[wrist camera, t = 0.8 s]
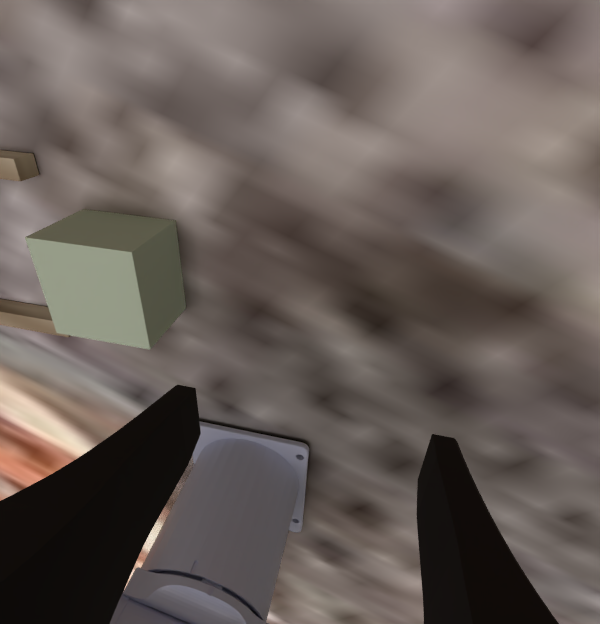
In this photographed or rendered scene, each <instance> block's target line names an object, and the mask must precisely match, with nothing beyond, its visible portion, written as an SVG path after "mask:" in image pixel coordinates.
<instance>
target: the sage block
mask: <svg viewBox="0 0 600 624" xmlns="http://www.w3.org/2000/svg"><path fill="white" fill-rule="evenodd" d="M25 239H26V242H27V245H28V248H29V251H30V254H31V257H32V260H33V263H34V266H35V269H36V272H37V275H38V278H39V281H40V284H41V287H42V290H43V293H44V296H45V299H46V302H47V305H48V308H49V311H50V314H51V317H52V320H53V323H54V326H55V329H56V332H57V333H60V334H65V335H71V336H77V337H82V338H88V339H93V340H99V341H105V342H110V343H116V344H121V345H127V346H133V347H138V348H144V349H149V350H150V349H151V348H152V347H153V346H154V345H155V343H156V342H157V341H158V340H159V339H160V338H161V337H162V335H163V334H164V333H165V332H166V331H167V330H168V328H169V327H170V326H171V325H172V324H173V323H174V322H175V320H176V319H177V318H178V317H179V316H180V315H181V313H182V312H183V311H184V310H185V309H186V302H185V294H184V286H183V278H182V269H181V261H180V253H179V245H178V237H177V229H176V221H175V220H167V219H159V218H151V217H143V216H135V215H127V214H118V213H110V212H102V211H94V210H86V209H83V210H81V211H79V212H77V213H74V214H72V215H70V216H68V217H66V218H64V219H62V220H60V221H58V222H56V223H54V224H52V225H50V226H48V227H46V228H43V229H41V230H39V231H37V232H35V233H33V234H31V235H29V236H27V237H25Z"/></svg>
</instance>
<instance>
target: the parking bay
mask: <svg viewBox="0 0 600 624" xmlns="http://www.w3.org/2000/svg"><path fill="white" fill-rule="evenodd" d="M38 175H39V172H38V169H37V165H36V162H35V158H34V155H33V154H32V153H22V152H13V151H4V150H0V179H6V180H15V181H23V180H26V179H29V178H32V177H35V176H38ZM0 325H4V326H10V327H15V328H21V329H26V330H32V331H37V332H43V333H48V334H54V335H59V336H65V337H70V336H71V335H65V334H60V333H57V332H56V329H55V326H54V323H53V320H52V317H51V314H50V311H49V308H48V307H45V306H39V305H33V304H27V303H21V302H16V301H10V300H4V299H0Z"/></svg>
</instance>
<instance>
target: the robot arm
mask: <svg viewBox="0 0 600 624" xmlns="http://www.w3.org/2000/svg"><path fill="white" fill-rule="evenodd" d="M192 455H193V462H194V466H193V468H192V470H191V472H190V474H189V476H188V478H187V480H186V482H185V484H184V486H183V488H182V490H181V491H180V493H179V495H178V497H177V499H176V501H175V503H174V505H173V507H172V509H171V511H170V513H169V515H168V517H167V519H166V520H165V522H164V524H163V526H162V528H161V530H160V532H159V534H158V536H157V538H156V540H155V542H154V544H153V546H152V548H151V550H150V551H149V553H148V555H147V557H146V559H145V561H144V563H143V565H142V567H141V568H136V570H135V571H134V573H133V575H132V577H131V579H130V581H129V583H128V585H127V587H126V589H125V590H124V588H125V586H126V583H127V581H128V579H129V576H130V574H131V572H132V570H133V567H134V565H135V563H136V561H137V559H138V556H139V554H140V552H141V550H142V547H143V545H144V543H145V541H146V539H147V537H148V535H149V533H150V532H151V530H152V528H153V526H154V524H155V523H156V521H157V519H158V517H159V515H160V514H161V512H162V510H163V508H164V507H165V505H166V503H167V501H168V500H169V498H170V496H171V494H172V492H173V491H174V489H175V487H176V485H177V484H178V482H179V480H180V478H181V476H182V475H183V473H184V471H185V469H186V467H187V465H188V463H189V461H190V459H191V456H192ZM308 457H309V447H308V446H307V445H306V444H305V443H302V442H298V441H293V440H288V439H283V438H278V437H273V436H269V435H264V434H259V433H254V432H249V431H244V430H239V429H235V428H230V427H225V426H220V425H215V424H210V423H206V422H201V421H199V414H198V406H197V397H196V389H195V388H192V387H186V386H181V385H176V386H175V387H174V388H172V389H171V390H170V391H168V392H167V393H166V394H165V395H163V396H162V397H161V398H160V399H158V400H157V401H156V402H155V403H153V404H152V405H151V406H150V407H148V408H147V409H146V410H144V411H143V412H142V413H141V414H139V415H138V416H137V417H135V418H134V419H133V420H131V421H130V422H129V423H127V424H126V425H125V426H124V427H122V428H121V429H120V430H118V431H117V432H115V433H114V434H113V435H111V436H110V437H108V438H107V439H106V440H104V441H103V442H101V443H100V444H98V445H97V446H96V447H94V448H93V449H91V450H90V451H88V452H87V453H85V454H84V455H82V456H81V457H79V458H78V459H76V460H74V461H73V462H71V463H70V464H68V465H66V466H65V467H63V468H61V469H60V470H58V471H56V472H55V473H53V474H51V475H49V476H48V477H46V478H44V479H42V480H40V481H38V482H36V483H34V484H33V485H31V486H29V487H27V488H25V489H23V490H21V491H19V492H17V493H16V494H14V495H12V496H10V497H8V498H6V499H4V500H1V501H0V624H268V623H266V620H267V616H268V612H269V608H270V604H271V600H272V596H273V592H274V588H275V584H276V580H277V576H278V572H279V568H280V564H281V560H282V556H283V552H284V548H285V544H286V540H287V536H288V531H292V532H300V531H301V530H302V526H303V515H304V504H305V492H306V481H307V469H308ZM417 525H418V539H419V552H420V564H421V577H422V590H423V605H424V624H559V623H558V622H557V621H556V619H555V618H554V617H553V615H552V614H551V612H550V611H549V609H548V608H547V606H546V605H545V604H544V602H543V601H542V599H541V598H540V596H539V595H538V593H537V592H536V590H535V589H534V587H533V586H532V584H531V583H530V581H529V580H528V578H527V577H526V575H525V574H524V572H523V570H522V569H521V567H520V566H519V564H518V562H517V561H516V559H515V557H514V556H513V554H512V552H511V551H510V549H509V547H508V545H507V544H506V542H505V540H504V538H503V537H502V535H501V533H500V532H499V530H498V528H497V526H496V524H495V522H494V520H493V519H492V517H491V515H490V513H489V511H488V509H487V507H486V505H485V503H484V501H483V499H482V497H481V495H480V493H479V491H478V489H477V487H476V485H475V483H474V480H473V478H472V476H471V474H470V472H469V469H468V467H467V465H466V462H465V460H464V458H463V455H462V453H461V450H460V448H459V445H458V443H457V441H456V440H455V438H450V437H445V436H440V435H435V434H432V436H431V440H430V443H429V446H428V449H427V452H426V455H425V459H424V462H423V465H422V468H421V471H420V474H419V478H418V491H417Z"/></svg>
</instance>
